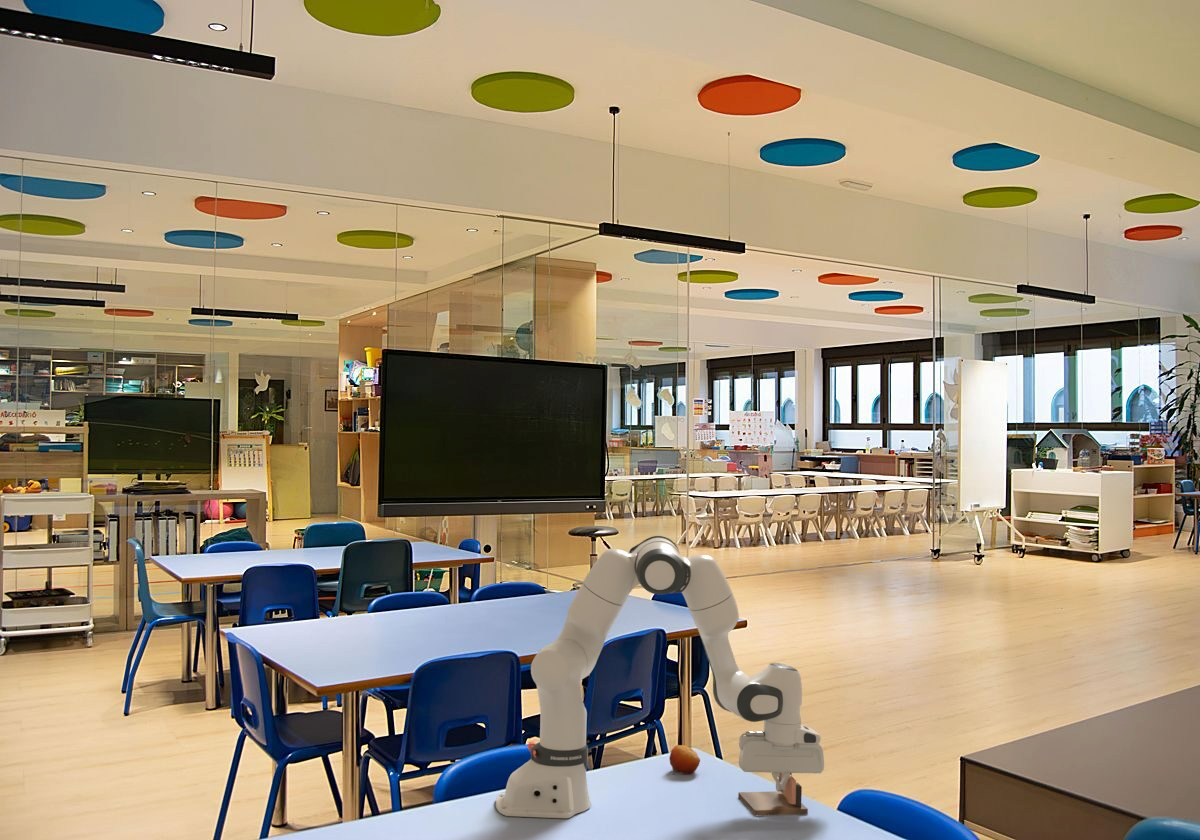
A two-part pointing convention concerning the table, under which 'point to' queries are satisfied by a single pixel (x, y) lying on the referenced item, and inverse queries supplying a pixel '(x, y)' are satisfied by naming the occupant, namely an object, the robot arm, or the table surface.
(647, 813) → the table surface
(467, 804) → the table surface
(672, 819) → the table surface
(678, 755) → the fruit
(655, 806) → the table surface
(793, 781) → the gate
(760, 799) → the gate frame
